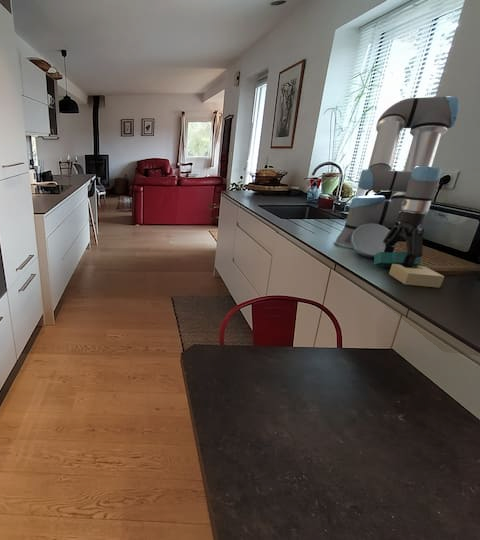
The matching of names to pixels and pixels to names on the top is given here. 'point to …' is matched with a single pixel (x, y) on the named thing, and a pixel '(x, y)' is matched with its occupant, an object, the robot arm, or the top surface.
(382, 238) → the chinaware
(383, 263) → the teal star block
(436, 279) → the sand pad
